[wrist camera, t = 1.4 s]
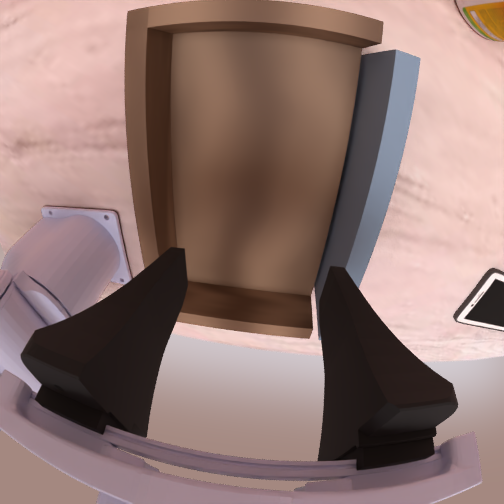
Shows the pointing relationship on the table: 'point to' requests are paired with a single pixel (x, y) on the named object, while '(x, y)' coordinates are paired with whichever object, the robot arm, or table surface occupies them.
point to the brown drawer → (241, 149)
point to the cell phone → (485, 303)
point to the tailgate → (369, 162)
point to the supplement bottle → (484, 17)
